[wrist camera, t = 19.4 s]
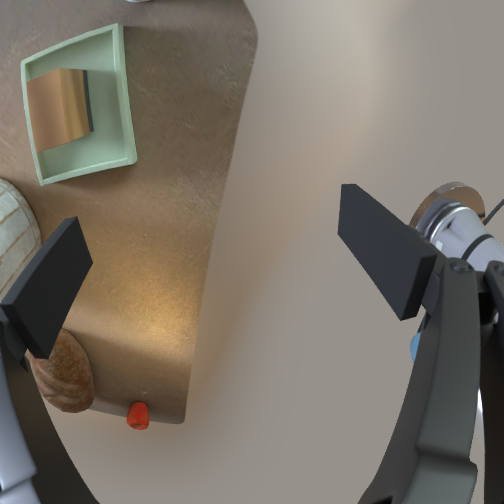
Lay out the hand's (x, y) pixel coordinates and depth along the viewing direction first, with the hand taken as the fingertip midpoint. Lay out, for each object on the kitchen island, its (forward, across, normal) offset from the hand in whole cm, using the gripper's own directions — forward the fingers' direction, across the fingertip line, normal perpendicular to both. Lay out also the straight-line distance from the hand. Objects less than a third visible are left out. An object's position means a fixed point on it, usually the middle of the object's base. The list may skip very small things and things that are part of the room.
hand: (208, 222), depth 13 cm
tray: (+27, -18, +8) cm, 33 cm away
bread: (+27, -42, -44) cm, 67 cm away
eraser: (+26, -18, +8) cm, 33 cm away
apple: (+27, -29, -63) cm, 74 cm away
